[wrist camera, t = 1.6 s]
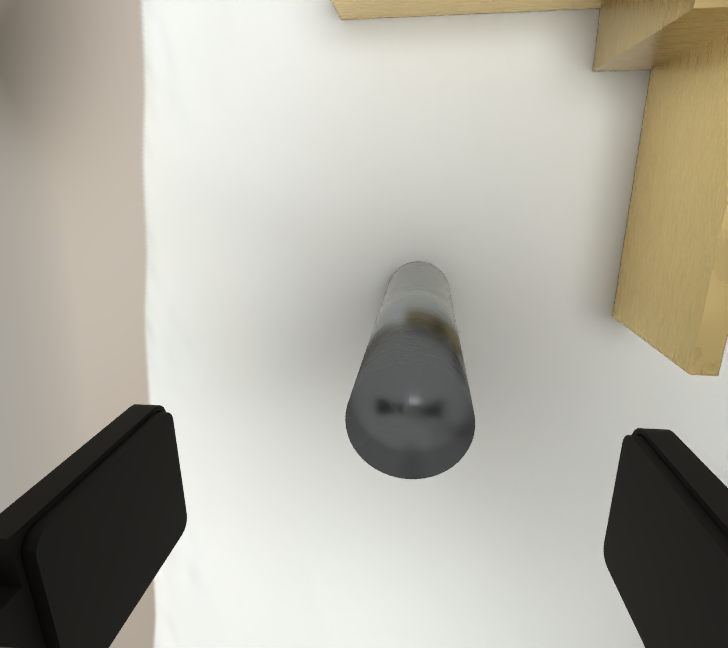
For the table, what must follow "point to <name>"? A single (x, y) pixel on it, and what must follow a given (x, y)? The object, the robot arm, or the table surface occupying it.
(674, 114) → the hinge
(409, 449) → the pin
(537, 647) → the table surface
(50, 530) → the robot arm
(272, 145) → the table surface
